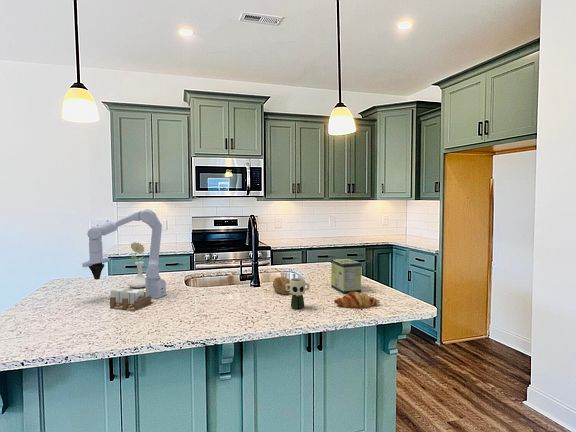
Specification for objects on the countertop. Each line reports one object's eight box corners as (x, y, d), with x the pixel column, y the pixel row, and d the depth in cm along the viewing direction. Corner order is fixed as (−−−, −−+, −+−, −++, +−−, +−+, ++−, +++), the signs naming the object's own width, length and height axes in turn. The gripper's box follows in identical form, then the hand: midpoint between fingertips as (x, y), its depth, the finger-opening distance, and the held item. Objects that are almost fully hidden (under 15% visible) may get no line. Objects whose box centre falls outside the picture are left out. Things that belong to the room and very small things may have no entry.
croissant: (377, 310, 177) (375, 293, 180) (383, 306, 168) (381, 288, 171) (332, 311, 175) (331, 294, 178) (337, 307, 166) (335, 289, 169)
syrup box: (110, 302, 176) (136, 305, 173) (110, 290, 176) (136, 292, 172) (118, 298, 182) (144, 301, 178) (118, 287, 181) (144, 289, 178)
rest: (153, 302, 179) (153, 292, 178) (133, 311, 167) (133, 300, 166) (130, 300, 183) (130, 290, 183) (110, 308, 171) (109, 297, 171)
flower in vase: (155, 285, 212) (154, 241, 210) (137, 290, 202) (136, 244, 200) (140, 282, 219) (139, 240, 217) (123, 287, 209) (121, 242, 207)
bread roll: (277, 296, 188) (277, 281, 188) (269, 289, 203) (269, 274, 202) (295, 295, 191) (295, 279, 191) (286, 287, 206) (286, 273, 205)
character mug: (286, 310, 166) (286, 281, 165) (284, 305, 173) (284, 278, 172) (310, 309, 167) (310, 281, 167) (308, 304, 174) (307, 277, 174)
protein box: (347, 285, 210) (347, 258, 209) (361, 292, 195) (361, 263, 194) (330, 287, 207) (330, 259, 206) (343, 294, 192) (343, 264, 191)
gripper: (101, 249, 191) (102, 275, 192) (76, 253, 177) (78, 281, 178) (112, 249, 188) (113, 276, 189) (88, 254, 175) (89, 283, 176)
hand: (97, 279), depth 183 cm, fingers closed
